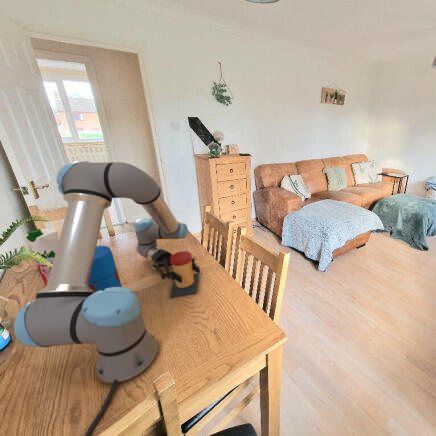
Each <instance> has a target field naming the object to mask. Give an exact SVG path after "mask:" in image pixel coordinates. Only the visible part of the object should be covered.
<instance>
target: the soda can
mask: <svg viewBox="0 0 436 436" xmlns="http://www.w3.org/2000/svg"><path fill="white" fill-rule="evenodd" d="M46 260H47V261H48V262H50V263H51V264H53V261H54V258H53V257H51V258H46ZM37 270H38V271H39V272H38V273H39V274H40V276H41V279H42V281H43V283H44V285H45V287H46V286H47V284H48V280H49V276H50V272H51V267H48V266H47V265H44V264H41V263H39V262H38V263H37Z"/></svg>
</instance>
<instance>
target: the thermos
mask: <svg viewBox="0 0 436 436" xmlns="http://www.w3.org/2000/svg"><path fill="white" fill-rule="evenodd" d="M88 285H89V287H90V288H91V289H92V290H93V293H95V292H97V291H100V290H101V291H104V290H105V289H106V288H111V287H123V285H122V282H121V279H120V275H119V272H118V268H117V264H116V260H115V257H114V254H113V252H112V250H111V247H110V246H107V245H97V246H96V251H95V255H94V260H93V265H92V270H91V275H90V279H89V284H88Z"/></svg>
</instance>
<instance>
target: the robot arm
mask: <svg viewBox="0 0 436 436" xmlns="http://www.w3.org/2000/svg"><path fill="white" fill-rule="evenodd" d="M56 184H57V185H58V186H57V190H58V191H59V193H60V194H61V195H63V196H62V199H63V200H64V201H65V202H66V203H67V204H68V205H67V207H66V211H65V216H64V219H63V223H62V227H61V231H60V235H59V237H58V239H59V242H58V246H57V249H56V253H55V257H54V261H53V265H52V268H51V272H50V276H49V280H48V284H47V286H45V287H43V288H42V289H40V290H38V291H37V292H36V295H35V297H34V300H32V301H30V302H27V303H26V304H25V305H23V307H22V308H21V309H20V310H19V311H18V312H17V314H16V316H15V319H14V323H13V332H14V335H15V338H16V340H18V341H19V342H20V344H21V345H23V346H25V347H29V348H44V349H45V348H50V347H51V348H52V347H59V346H68V345H69V346H71V345H83V344H94V345H95V348H96V349H97V350H96V351H97V357H96V364H95V372H96V376H97V378H98V379H99V381H100V382H101V383H104V384H106V385H111V386H110V389H109V391H108V394H107V396H106V399H105V401H104V403H103V405H102V407H101V409H100V410H99V412H98V413H97V415H96V416H95V418H94V420H93V421H92V422H91V424H90V426H89V427H88V429H87V431H86V432H85V433H84V436H91V433H92V432H93V431H94V429H95V427H96V426H97V424H98V422H99V421H100V419H102V416H103V415H104V414H105V411H106V409H107V407H108V406H109V404H110V402H111V400H112V397H113V394H114V392H115V389H116V387H117V385H119V384H124V383H126V382H129V381H131V380H134V379H136V378H138V377H139V376H140V375H141V374H142V373H144V372H146V370H147V369H148V368H149V367H151V365H152V364H153V362H154V361H155V360H156V357H157V355H158V352H159V347H158V343H157V340H156V338H155V335H154V334H153V335H152V334H151V333H150V332H149V331H148V329H146V325H145V324H146V323H145V321H144V315H143V312H142V309H141V308H142V307H141V306H142V305H141V303H140V300H139V299H138V296H137V294H136V293H135V292H134V291H133V290H132V289H130V288H127V287H124V286H122V287H111V288H106V289H105V290H104V291H101V290H100V291H97V292H95V293H93V290H92V289H91V288H90V287H89V285H88V284H89V279H90V275H91V270H92V265H93V260H94V255H95V251H96V246H98V240H99V237H100V231H101V227H102V222H103V217H104V212H105V210H106V209H108V208H110V207H111V206H112V203H113V199H130V200H132V201H133V202H134V203H135V204H137V205H140V206H141V207H142V208H143V209H144V211H145V212H146V213H147V214H148V215H149V217H150V218H147V217H145V218H140V219H137V220H136V221H134V223H133V224H134V233H135V235H136V240H137V244H136V247H135V250H136V252H137V254H139V255H140V256H141V257H143V258H145V259H146V260H148V261H149V262H151V263H153V264H151V267H152V271H153V272H155V273H156V274H157V275H158V276H159V277H160V278H161V279H162V280H166V278H167V280H172V281H174V279H175V280H177V281H178V282H180V283H182V278H181V276H179V275H178V274H176V273H175V272H173V270H170V267H172V264H171V261H170V257H171V256H172V255H173V254H172V253H171V251H168V250H166V249H165V248H163V247H161V246H160V245H158V242H157V240H183V239H186V238H187V236H188V230H189V229H188V225H187V224H186V223H185V222H179V221H178V220H177V218H176V217H175V215H174V214H173V212H172V210H171V208H170V207H169V206H168V204H167V202H166V201H165V199H164V198H163V196H162V190H161V187H160V186H159V184H158V183H157V181H156V180H155V179H154V178H153V177H151V176H150V175H149V174H148V173H147V172H145V171H144V170H142V169H141V168H139V167H137V166H135V165H133V164H130V163H127V162H123V161H116V162H115V161H89V160H80V161H71V162H68V163H66V164H64V165H63V166H61V167H60V169H59V171H58V172H57V174H56ZM153 221H154V222H153ZM192 267H193V272H195V273H199V274H200V273H201V271H200V267H199V266H198V265H197V264H196V263H195V258H194V257H192ZM162 268H164V270H165V272H164V271H163V269H162Z"/></svg>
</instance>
